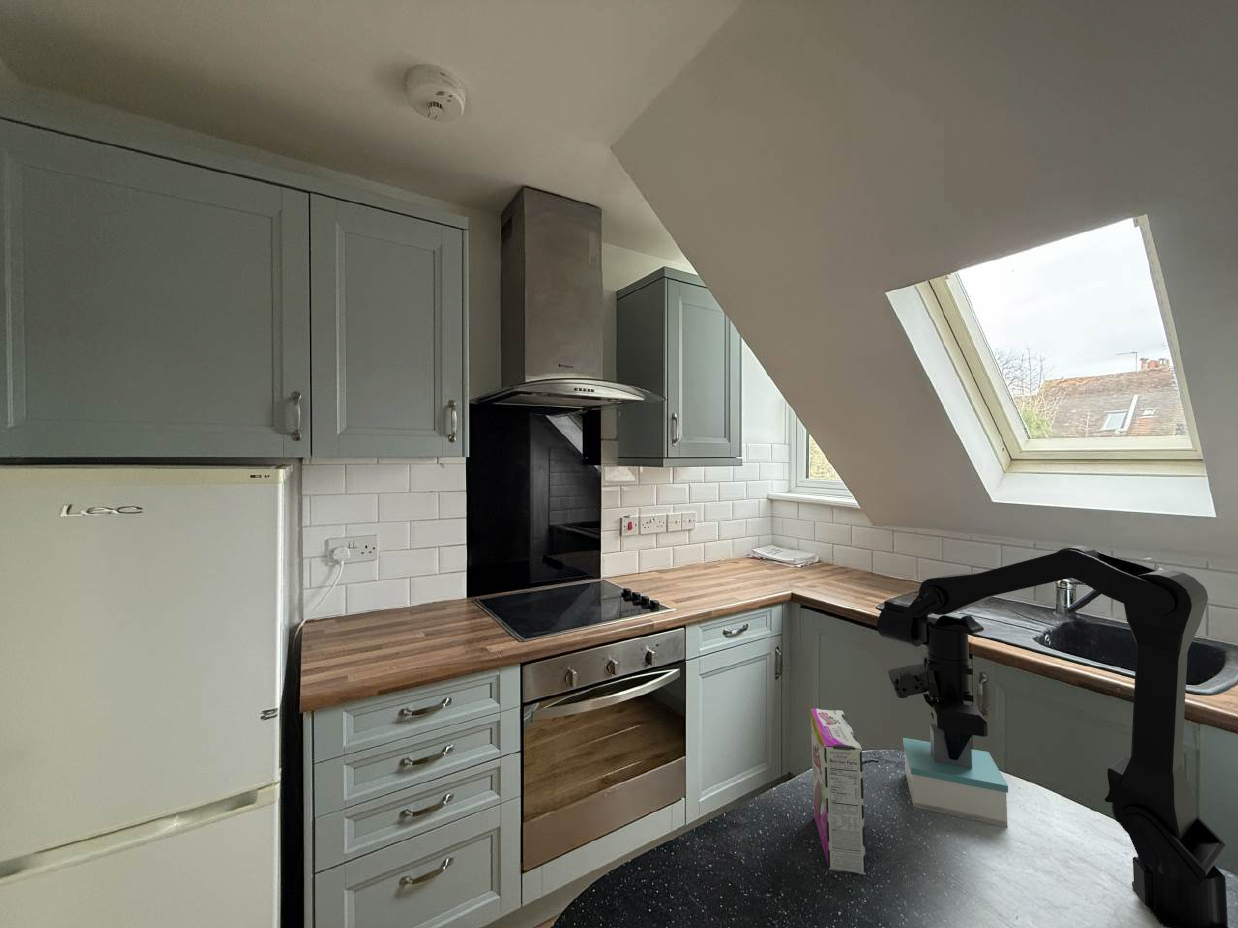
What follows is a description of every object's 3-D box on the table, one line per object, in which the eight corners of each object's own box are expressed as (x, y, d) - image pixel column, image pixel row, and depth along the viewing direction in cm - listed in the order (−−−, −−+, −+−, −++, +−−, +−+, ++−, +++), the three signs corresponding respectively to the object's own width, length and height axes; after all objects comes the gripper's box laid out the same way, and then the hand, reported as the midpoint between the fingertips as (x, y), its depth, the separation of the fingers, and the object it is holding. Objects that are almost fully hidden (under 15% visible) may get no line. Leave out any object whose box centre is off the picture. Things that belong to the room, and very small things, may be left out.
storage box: (988, 790, 82) (987, 759, 82) (1007, 827, 73) (1006, 792, 74) (905, 774, 87) (904, 744, 87) (913, 806, 78) (912, 774, 78)
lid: (989, 764, 82) (987, 724, 83) (1008, 799, 73) (1006, 754, 74) (903, 749, 87) (902, 711, 88) (911, 780, 78) (910, 738, 78)
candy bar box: (811, 815, 76) (809, 706, 77) (846, 820, 75) (843, 709, 76) (826, 872, 65) (823, 743, 66) (867, 877, 64) (864, 747, 65)
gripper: (885, 633, 93) (888, 718, 92) (897, 667, 76) (900, 773, 75) (957, 640, 88) (960, 730, 88) (986, 678, 71) (990, 790, 71)
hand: (950, 753), depth 80 cm, fingers closed on lid, 3 cm apart
